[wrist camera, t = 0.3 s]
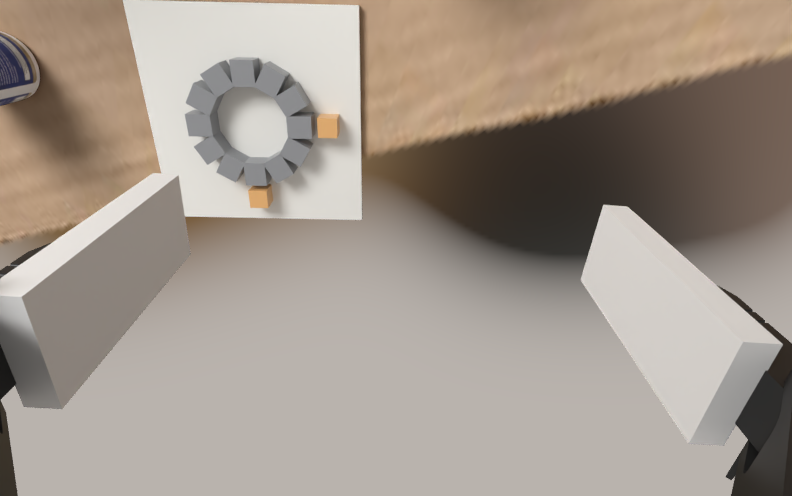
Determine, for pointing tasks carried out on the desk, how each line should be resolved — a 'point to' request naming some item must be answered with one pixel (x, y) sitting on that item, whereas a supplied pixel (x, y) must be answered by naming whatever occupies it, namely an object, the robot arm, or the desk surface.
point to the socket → (254, 105)
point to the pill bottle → (16, 70)
